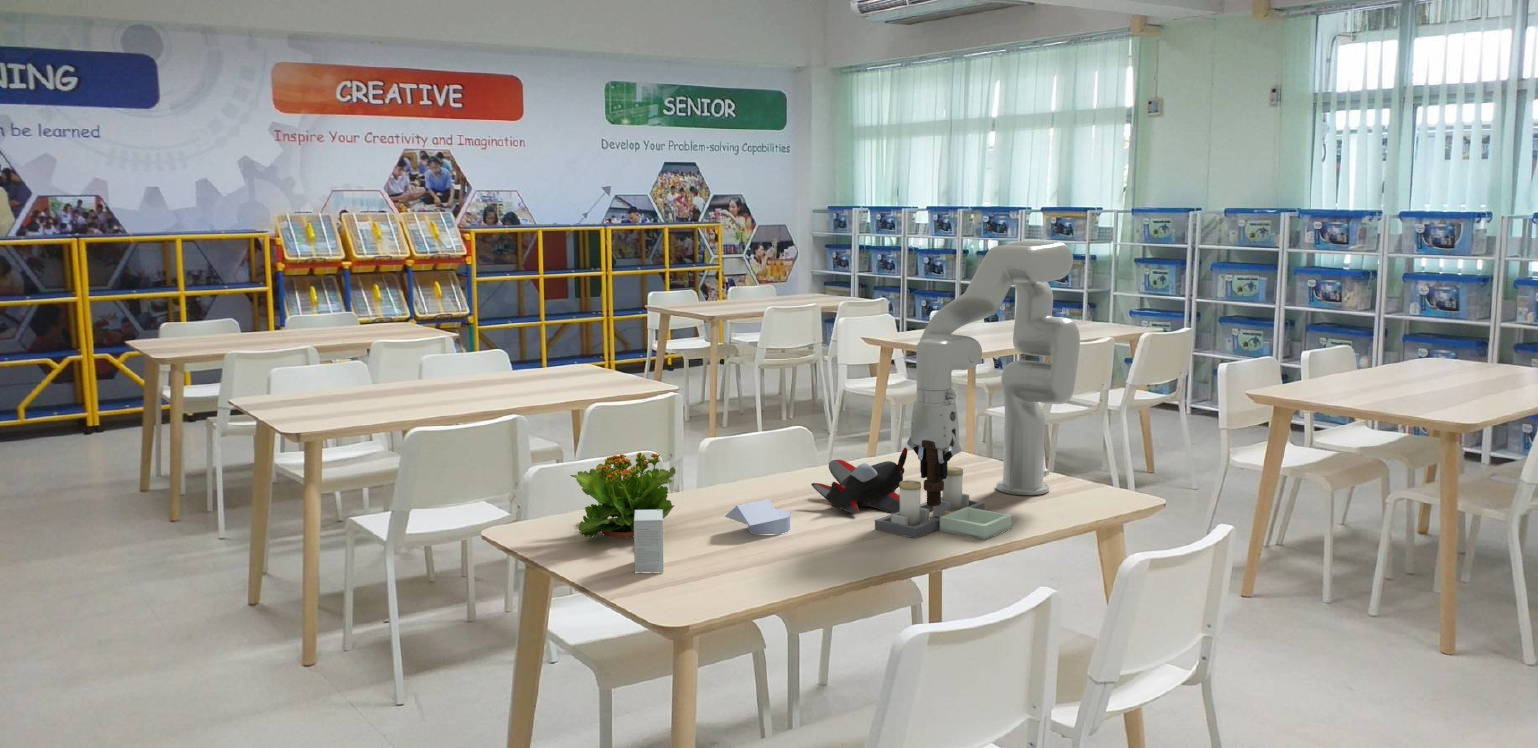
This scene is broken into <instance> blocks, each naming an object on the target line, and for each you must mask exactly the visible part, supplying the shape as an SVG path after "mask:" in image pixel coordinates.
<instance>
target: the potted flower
mask: <svg viewBox="0 0 1538 748" xmlns="http://www.w3.org/2000/svg"><path fill="white" fill-rule="evenodd" d="M626 457H627V455H625V454H622V453H620V455H612V456H609V457H607V456H606V458H605V459H604V463H599V464H597V465H596V467H595V468H590V469H589V472H588V471H587V470H584V471H577V474H570V475H569V476H570V477H572V478H576V482H577V483H578V484H579V486H580V487H582V488H581V490H582V491H583V493H584V494H585V495H587V496H590V497H591V498H593V499H594V500H596V501H597V503H598V505H597V504H594V503H591V504H590V505H587V506H585V507H584V510H585V513H586V515H582V518H583V520H580V522H579V524H578V531H579V532H578V534H581V536H584V537H589V538H593V537H597V536H598V535H599V533H601V535H602V534H604V535H603V536H605V537H607V536H608V537H607V538H612V537H614V538H615V539H627V538H626V537H629V538H634V537H633V536H634V511H635V510H663V520H664V519H665V518H666V517H667V516H668V515H669V514H670V513H671V511H672V509H673V508H674V507H675V505H674V504H673V503H672V501H671V500H670V499H667V498H668V493H669V487H668V486H663V485H667V484H671V483H673V480H672V479H670V478H672V477H673V476H674V475H675V474H677V473H676V468H674V467H675V466H671V467H670V469H668V470H666V469H665V468H664V469H663V468H660V469H659V468H656V465H657V463H658V464H659V463H660V454H657V453H652V454H651V455H650V457H651V458H647V456H646V455H645V454H644V453H642V452H641V451H639V452H638V453H636V458H635V459H634V460H635V465H633V464H632V462H631V459H629V458H626ZM649 464H652V466H653V468H652V470H650V469H648V468H649ZM612 465H613V467H612ZM632 465H633V466H632ZM629 467H630V468H629ZM628 468H629V469H628ZM646 469H647V470H646ZM672 504H673V505H672ZM609 517H610V518H609ZM596 535H597V536H596ZM592 536H593V537H592Z"/></svg>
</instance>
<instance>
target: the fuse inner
mask: <svg viewBox="0 0 1538 748" xmlns="http://www.w3.org/2000/svg"><path fill="white" fill-rule="evenodd" d="M963 475H964V469H963V468H962V467H957V466H947V478H946V479H944V480H943V481H944V490H943V491H941V497H942V500H945V501H950V502H951V504H950V512H954V511H957V510H960V509H962V494H963Z"/></svg>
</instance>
